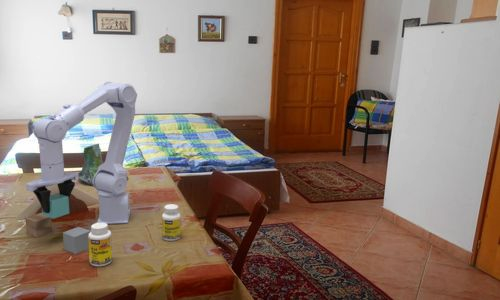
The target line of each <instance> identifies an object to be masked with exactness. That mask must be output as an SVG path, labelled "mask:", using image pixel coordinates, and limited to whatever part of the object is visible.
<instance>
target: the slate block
mask: <svg viewBox="0 0 500 300" xmlns="http://www.w3.org/2000/svg"><path fill="white" fill-rule="evenodd" d="M90 232H91V230H89V229H86V228H83V227H80V226H77V227H74V228H71V229H69V230H66V231H64V232H62V240H63V250H65V251H67V252H69V251H70V253H72V254H74V255H77V254H80V253H81V252H83V251H86V250H89V240H88V235H89V233H90Z"/></svg>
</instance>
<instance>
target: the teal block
mask: <svg viewBox="0 0 500 300" xmlns="http://www.w3.org/2000/svg"><path fill="white" fill-rule="evenodd" d="M69 201H70V199H69V200H68V196H65V195H61V194H60V193H54V194H50V213H45V212H43V209H42V208H41V213H42V215H45V216H47V217H50V218H51V219H53V220H54V219H57V218H60V217H63V216H65V215H69V214H70V203H69Z"/></svg>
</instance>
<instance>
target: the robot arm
mask: <svg viewBox="0 0 500 300" xmlns="http://www.w3.org/2000/svg"><path fill="white" fill-rule="evenodd" d="M137 97H138V93H137V91H136V89H135V87H134V86H133V85H132V84H130V83H121V82H120V83H119V82H111V81H107V82H106V81H105V82H104V83H103V84H101V85H98V87H97V89H95V90H94V91H93V92H92V93H90V94H89V95H88V96H86V97H85V98H84V99H82V100H81V101H80V102H78V103H76V104H74V103H66V104H64V105H63V106H62V107H63V108H61V109H59V110H58V111H57V112H55V113H51V114H49V117H48V118H41V119H39V120H38V121H37V122H36V124H35V125H34V129H32V133H33V135H34V136H35V138H37V143H38V148H39V161H40V173H41V178H38V179H35V180H33V181H30V182H27V183H25V186H26V191H27V192H30V193H31V192H33V194H34V195H35V197H36V198H37V201H39V202H38V203H39V204H40V206H41V210H42V209H43V212H45V213H50V195H51V193H52V191H51V190H50V189H48V187H51V186H54V185H57V188H58V192H59V194H61V195H65V196H68V200H69V201H70V198H71V194H72V192H73V190H74V188H75V186H76V184H75V183H76V182H75V181H76V180H77V181H78V180H79V179H80V178H79V177H78V173H79V172H77V171H72V172H66V173H65V162H64V152H63V151H64V150H63V140H64V139H65V137H66V135H67V132H68V131H70V130H72V129H73V128H74V127H75V126H77V125H79V124H80V123H81V122H83V121H84V118H85V115H86V114H89V112H91V111H92V110H94V109H96V108H97V107H98V108H99V106H101V105H103V104H105V103H106V104H107V105H108V106H110V108H112V109H113V110H114V113H115V114H116V115H115V120H114V124H113V128H112V132H111V136H110V140H109V144H108V148H107V152H106V157H105V160H104V161H103V162H104V163H103V164H101V165H100V166H99V167H98V171H97V173H96V174H95V175H94V177H93V186H92V187H93V188H94V189H95V190H96V193H97V194H98V210H99V211H98V212H99V213H98V214H99V216H98V219H97V221H96V223H106V224H107V225H113V224H128V223H129V221H130V215H131V209H130V207H131V206H130V194H129V192H125V191H126V189H127V186H128V180H127V176H128V172H127V169H126V168H125V167H124V161H125V158H126V152H127V149H128V146H129V145H128V144H129V141H130V137H131V132H132V128H133V127H132V126H133V123H134V119H135V114H136V102H137ZM110 172H113V173H114V174H112V173H110Z"/></svg>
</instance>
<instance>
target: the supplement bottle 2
mask: <svg viewBox="0 0 500 300" xmlns="http://www.w3.org/2000/svg"><path fill="white" fill-rule="evenodd" d="M163 210H164V211H163V213H162V215H161V237H162V239H163V240H165V241H168V242H174V241H177V240H179V239H180V238H181V232H182V231H181V228H182V227H181V226H182V225H181V224H182V223H181V222H182V221H181V220H182V218H181V214H180V213H179V205H177V204H172V203H171V204H170V203H169V204H166V205H165V206H164V207H163Z"/></svg>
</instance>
